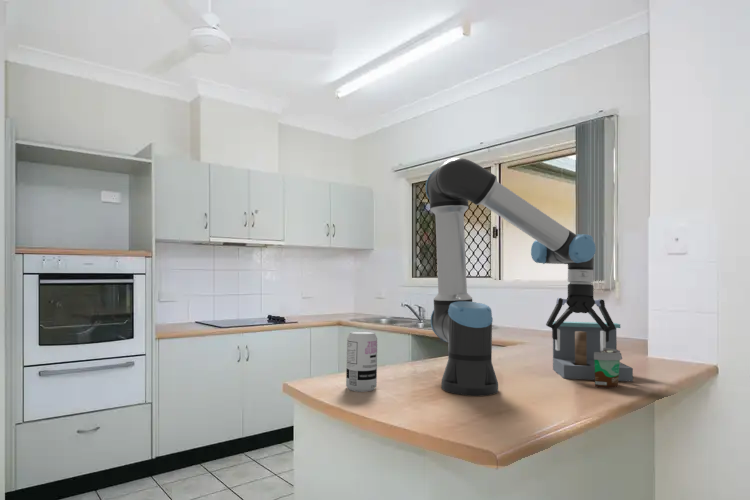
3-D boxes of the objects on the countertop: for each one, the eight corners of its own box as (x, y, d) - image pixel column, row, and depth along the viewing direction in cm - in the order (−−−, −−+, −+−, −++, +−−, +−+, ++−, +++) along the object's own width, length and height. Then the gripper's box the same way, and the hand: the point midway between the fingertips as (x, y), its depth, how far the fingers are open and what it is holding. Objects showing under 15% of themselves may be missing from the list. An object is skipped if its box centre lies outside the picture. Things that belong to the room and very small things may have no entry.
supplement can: (350, 384, 134) (351, 330, 135) (379, 386, 133) (380, 331, 133) (342, 391, 126) (343, 333, 127) (373, 393, 125) (374, 335, 125)
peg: (573, 375, 152) (573, 331, 153) (584, 376, 152) (584, 331, 153) (576, 377, 149) (576, 332, 150) (588, 378, 148) (588, 332, 149)
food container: (617, 391, 132) (617, 354, 133) (593, 387, 136) (593, 352, 136) (626, 383, 142) (626, 349, 142) (603, 380, 146) (603, 347, 146)
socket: (563, 378, 148) (563, 325, 149) (552, 369, 162) (552, 321, 162) (632, 381, 145) (632, 327, 146) (615, 372, 159) (615, 323, 160)
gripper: (542, 282, 150) (541, 351, 149) (626, 284, 147) (626, 355, 146) (537, 282, 157) (536, 347, 156) (617, 284, 154) (617, 351, 153)
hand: (580, 351), depth 151 cm, fingers open, 13 cm apart
